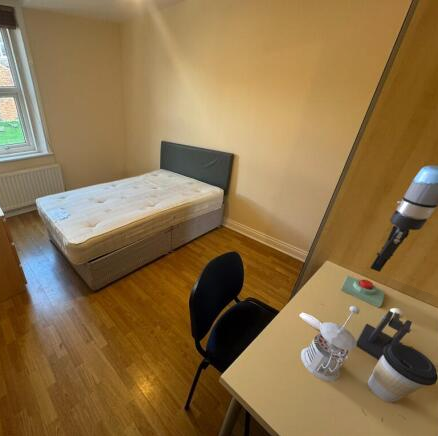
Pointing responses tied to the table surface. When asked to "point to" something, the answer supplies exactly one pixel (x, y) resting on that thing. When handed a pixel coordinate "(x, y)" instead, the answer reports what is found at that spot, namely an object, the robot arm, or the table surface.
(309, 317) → the white rounded bar
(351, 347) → the french press
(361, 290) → the button block
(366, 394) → the table surface
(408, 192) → the robot arm
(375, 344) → the black lever stand
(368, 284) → the power button
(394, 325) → the lever switch
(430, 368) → the coffee cup
